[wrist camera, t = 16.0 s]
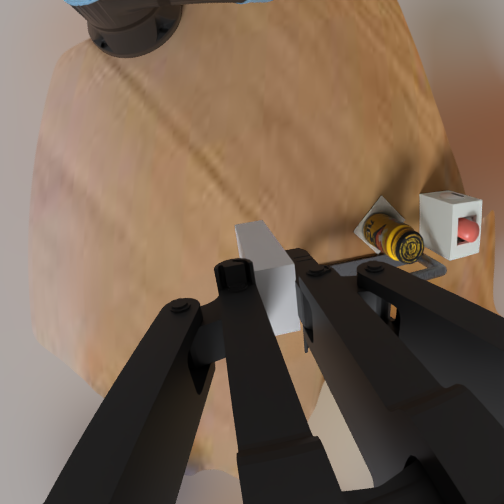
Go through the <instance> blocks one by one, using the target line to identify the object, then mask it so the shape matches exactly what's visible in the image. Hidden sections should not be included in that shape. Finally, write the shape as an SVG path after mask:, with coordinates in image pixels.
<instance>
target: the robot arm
mask: <svg viewBox="0 0 504 504" xmlns="http://www.w3.org/2000/svg"><path fill="white" fill-rule="evenodd" d="M64 1H66V2H67V3H68V4H70V5H71V6H72V7H73V8H74V9H75V10H76V11H77V12H79V14H81V15H82V16H83V17H84V18H85V19H86V20H87V24H88V32H89V35H90V37H91V39H92V41H93V42H94V44H95V45H96V46H97V47H98V48H99V49H101V50H102V51H103V52H105V53H106V54H108V55H111V56H114V57H119V58H133V57H138V56H142V55H145V54H147V53H150V52H152V51H154V50H155V49H157V48H159V47H160V46H161V45H163V44H164V43H165V42H166V41H167V40H168V39H169V38H170V37H171V36H172V35H173V33H174V32H175V30H176V29H177V27H178V24H179V22H180V18H181V5H183V4H199V3H237V4H244V3H245V4H246V3H248V2H269V1H273V0H64ZM235 231H236V237H237V243H238V249H239V256H240V258H236V259H230V260H226V261H223V262H221V263H219V264H217V265H216V266H215V268H214V272H215V277H216V282H217V287H218V292H219V296H218V298H216V299H215V300H214V301H212V302H211V303H208V304H206V305H203V306H200V303H199V302H198V300H196V299H193V298H183V299H182V298H179V299H176V300H173V301H171V302H170V303H168V304H166V305H165V306H164V307H163V308H162V309H161V311H160V312H159V314H158V315H157V317H156V318H155V320H154V321H153V323H152V325H151V326H150V328H149V329H148V331H147V332H146V334H145V335H144V337H143V338H142V340H141V341H140V343H139V345H138V346H137V348H136V349H135V351H134V352H133V354H132V355H131V357H130V359H129V360H128V362H127V363H126V365H125V366H124V368H123V370H122V371H121V373H120V374H119V376H118V378H117V379H116V381H115V382H114V384H113V386H112V387H111V389H110V390H109V392H108V394H107V395H106V397H105V399H104V400H103V402H102V403H101V405H100V407H99V409H98V410H97V412H96V413H95V415H94V417H93V418H92V420H91V422H90V423H89V425H88V427H87V428H86V430H85V432H84V434H83V435H82V437H81V439H80V440H79V442H78V444H77V445H76V447H75V449H74V450H73V452H72V454H71V456H70V457H69V459H68V461H67V463H66V464H65V466H64V468H63V470H62V471H61V473H60V475H59V477H58V479H57V480H56V482H55V484H54V486H53V488H52V489H51V491H50V493H49V495H48V497H47V499H46V500H45V502H44V503H43V504H175V503H176V500H177V496H178V493H179V489H180V486H181V483H182V479H183V476H184V473H185V469H186V466H187V462H188V459H189V456H190V452H191V449H192V446H193V442H194V439H195V435H196V432H197V429H198V425H199V422H200V419H201V415H202V412H203V409H204V405H205V402H206V398H207V395H208V392H209V388H210V385H211V382H212V378H213V375H214V372H215V361H218V360H220V359H223V358H225V357H226V363H227V371H228V379H229V386H230V394H231V401H232V409H233V416H234V423H235V430H236V437H237V444H238V453H237V466H238V473H239V479H240V485H241V492H242V498H243V504H504V318H503V317H501V316H499V315H497V314H495V313H493V312H491V311H489V310H487V309H485V308H483V307H481V306H479V305H477V304H475V303H472V302H470V301H468V300H466V299H464V298H462V297H460V296H458V295H456V294H454V293H451V292H449V291H447V290H445V289H443V288H441V287H439V286H436V285H434V284H432V283H430V282H428V281H426V280H423V279H421V278H419V277H417V276H415V275H412V274H410V273H408V272H406V271H404V270H401V269H399V268H397V267H395V266H392V265H390V264H388V263H385V262H380V261H376V260H373V261H368V262H365V263H362V264H360V265H358V267H357V276H340V274H339V273H338V272H337V271H336V270H335V269H334V268H332V267H330V266H328V265H319V264H318V263H317V262H316V261H315V260H314V259H313V258H312V256H310V254H309V253H308V252H307V251H306V250H303V249H300V248H296V249H290V250H284V249H283V247H282V246H281V245H280V243H279V242H278V241H277V239H276V238H275V236H274V235H273V234H272V232H271V231H270V230H269V228H268V227H267V226H266V224H265V223H264V221H263V220H260V221H255V222H249V223H243V224H237V225H235ZM391 304H392V305H394V306H395V307H396V308H397V312H396V319H393V318H392V317H390V310H391ZM299 318H300V319H299ZM300 320H301V322H302V324H303V334H304V348H305V353H307V352H308V348H310V350H311V352H312V354H313V356H314V358H315V360H316V362H317V364H318V366H319V368H320V370H321V372H322V374H323V376H324V379H325V381H326V383H327V385H328V387H329V389H330V391H331V393H332V395H333V397H334V399H335V401H336V403H337V405H338V407H339V409H340V411H341V413H342V415H343V417H344V419H345V421H346V423H347V425H348V428H349V430H350V432H351V433H352V436H353V438H354V440H355V442H356V444H357V446H358V448H359V450H360V452H361V454H362V456H363V458H364V460H365V462H366V465H367V467H368V469H369V471H370V473H371V475H372V478H373V482H374V488H369V489H360V490H352V491H343V492H342V491H341V489H340V486H339V484H338V481H337V479H336V476H335V474H334V471H333V469H332V466H331V464H330V461H329V459H328V457H327V454H326V452H325V449H324V447H323V445H322V442H321V440H320V439H319V437H318V436H315V437H314V436H313V435H312V433H311V431H310V428H309V425H308V423H307V420H306V417H305V415H304V412H303V409H302V407H301V404H300V401H299V399H298V396H297V393H296V391H295V388H294V385H293V383H292V380H291V377H290V375H289V372H288V369H287V367H286V364H285V361H284V358H283V356H282V353H281V350H280V348H279V345H278V342H277V340H276V337H275V336H276V335H281V334H285V333H290V332H295V331H299V330H300Z"/></svg>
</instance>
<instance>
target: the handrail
mask: <svg viewBox="0 0 504 504" xmlns="http://www.w3.org/2000/svg"><path fill="white" fill-rule="evenodd" d="M373 260H376V261H380V262H385V263H388V264H390V265H392V266H395V267H397V266H402V265H406V264H404V263H402V262H400V261H396V260H393V259H392V258H390V257H389V256H387V255H386V254H380V255H375V256H370V257H366V258H361V259H356V260H351V261H346V262H341V263H337V264H332V265H328V266H330V267H332V268H334V269H335V270H336V271H337V272H338V273H339V274H340V276H357V267H358V265H360V264H362V263H365V262H368V261H373ZM416 262H419V263H421V264H422V265H424V266H426V267H427V269H423V270H419V271H415V272H411V273H410V274H412V275H415V276H417V277H419V278H421V279H423V280H430V279H433V278H437V277H440V276H443V275H445V274H446V272H447V269H446V267H445V266H444V265H443V264H441V263H439V262H438V261H436V260H434V259H433V258H431V257H429V256H428V255H426V254H424V253H422V255H421V257H420V258H419V259H418V260H417V261H416Z"/></svg>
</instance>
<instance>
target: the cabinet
mask: <svg viewBox="0 0 504 504" xmlns="http://www.w3.org/2000/svg"><path fill="white" fill-rule="evenodd" d="M461 217H463V218H465V219H468V220H470V221H473V222H476V223H477V224H478V225H479V229H480V231H479V236H478V238H477V239H476V241H474V242H472V243H470V242H468V241H466V240H464V239H462V238H460V237H457V235H458V218H461ZM481 217H482V200H480V199H477V198H474V197H470V196H467V195H464V194H460V193H457V192H453V191H450V190H447V191H439V192H431V193H423V194H420V235H421V236H422V238H423V241H424V246H425V247H426V248H428V249H430V250H432V251H434V252H435V253H437V254H439V255H441V256H442V257H444V258H446V259H448V260H454V259H458V258H461V257H465V256H468V255H472V254H475V253H479V244H480V233H481Z"/></svg>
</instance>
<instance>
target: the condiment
mask: <svg viewBox="0 0 504 504" xmlns="http://www.w3.org/2000/svg"><path fill="white" fill-rule="evenodd" d="M380 211H381V212H380ZM404 221H405V219H404V218H403V217H402V216H401V215H400V214H399V213H398V212H397V211H396V210H395V209H394V208H393V207H392V206H391V205H390V203H389V202H388V201H387V200H386V199H385V198H384V197H383V196H382V195H381V197H380V198H379V199H378V201H377V202H376V203H375V205H374V206H373V207H372V209H371V210H370V211H369V212H368V213H367V215H366V216H365V217H364V219H363V220H362V221H361V222H360V224H359V225H358V226H357V227H356V229H355V230H354V233H355V234H356V235H357V236H358V237H359V238H361V239H362V240H363V241H364V242H365V243H366V244H367V245H368V246H369V247H370V248H372V249H373V250H374V251H375V252H376V253H377V254H379V253H380V252H383V253H384V254H386V255H387V256H389V257H390V258H392V259H393V260H396V261H400V262H402V263H404V264H412V263H414V262H416V261H417V260H418V259H419V258H420V257H421V255H422V253H423V251H424V241H423V238H422V236H421V235H420V234H419V233H418V232H416V231H414V229H413V228H412V227H410V226H409V225H407V224H405V223H403V222H404Z"/></svg>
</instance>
